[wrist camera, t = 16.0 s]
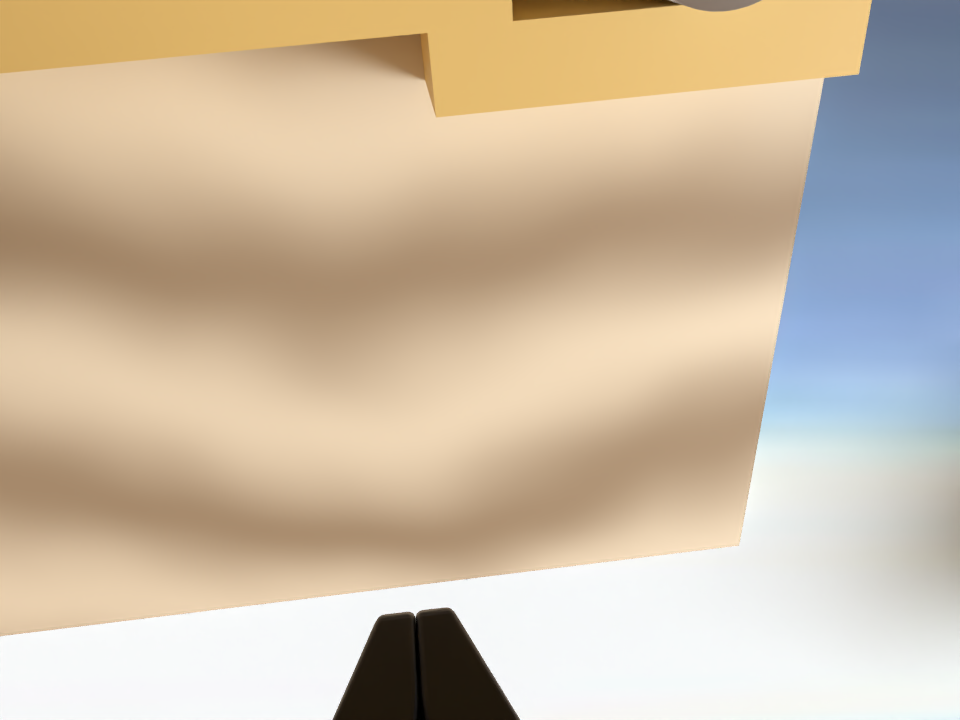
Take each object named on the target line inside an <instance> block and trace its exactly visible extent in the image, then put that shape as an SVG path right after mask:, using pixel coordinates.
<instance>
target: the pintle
mask: <svg viewBox="0 0 960 720" xmlns="http://www.w3.org/2000/svg"><path fill="white" fill-rule="evenodd" d="M669 1H672V2H675V3H678V4H681V5H684V6H687V7H691V8H694V9H697V10H703V11H711V12H723V11H730V10H737V9H740V8H744V7H747V6H750V5H753V4H755V3H757V2H760V1H762V0H669Z"/></svg>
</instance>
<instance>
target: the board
mask: <svg viewBox="0 0 960 720" xmlns="http://www.w3.org/2000/svg"><path fill="white" fill-rule="evenodd" d="M823 80H824V78H817V79H807V80H797V81H788V82H778V83H768V84H758V85H749V86H739V87H729V88H719V89H710V90H700V91H690V92H680V93H671V94H661V95H651V96H641V97H632V98H622V99H612V100H602V101H593V102H583V103H573V104H563V105H554V106H544V107H534V108H524V109H515V110H505V111H495V112H485V113H476V114H466V115H456V116H446V117H437V118H436V116H435V112H434V109H433V106H432V102H431V99H430V96H429V92H428V89H427V85H426V82H425V76H424V66H423V57H422V47H421V37H420V34H411V35H400V36H390V37H379V38H369V39H358V40H348V41H337V42H327V43H316V44H306V45H295V46H285V47H274V48H264V49H253V50H243V51H232V52H222V53H211V54H201V55H190V56H180V57H169V58H159V59H148V60H138V61H127V62H117V63H106V64H96V65H85V66H75V67H64V68H53V69H43V70H32V71H22V72H11V73H1V74H0V636H5V635H13V634H22V633H30V632H38V631H46V630H54V629H62V628H70V627H79V626H87V625H95V624H103V623H111V622H119V621H127V620H136V619H144V618H152V617H160V616H168V615H176V614H185V613H193V612H201V611H209V610H217V609H225V608H233V607H242V606H250V605H258V604H266V603H274V602H282V601H291V600H299V599H307V598H315V597H323V596H331V595H339V594H348V593H356V592H364V591H372V590H380V589H388V588H396V587H405V586H413V585H421V584H429V583H437V582H445V581H454V580H462V579H470V578H478V577H486V576H494V575H502V574H511V573H519V572H527V571H535V570H543V569H551V568H560V567H568V566H576V565H584V564H592V563H600V562H608V561H617V560H625V559H633V558H641V557H649V556H657V555H666V554H674V553H682V552H690V551H698V550H706V549H714V548H723V547H731V546H739V543H740V537H741V532H742V526H743V521H744V515H745V510H746V504H747V499H748V493H749V488H750V482H751V477H752V471H753V466H754V460H755V455H756V449H757V444H758V438H759V433H760V427H761V422H762V416H763V411H764V405H765V400H766V394H767V389H768V383H769V378H770V372H771V367H772V361H773V356H774V350H775V345H776V339H777V334H778V328H779V323H780V317H781V312H782V306H783V301H784V295H785V290H786V284H787V278H788V273H789V267H790V262H791V256H792V251H793V245H794V240H795V234H796V229H797V223H798V218H799V212H800V207H801V201H802V196H803V190H804V185H805V179H806V174H807V168H808V163H809V157H810V152H811V146H812V141H813V135H814V130H815V124H816V119H817V113H818V108H819V102H820V97H821V91H822V86H823Z"/></svg>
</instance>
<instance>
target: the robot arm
mask: <svg viewBox="0 0 960 720" xmlns="http://www.w3.org/2000/svg"><path fill="white" fill-rule="evenodd" d="M333 720H520V719H519V717H518V715H517V714H516V712H515V710H514V709H513V707H512V706H511V704H510V702H509V701H508V699H507V697H506V696H505V694H504V692H503V691H502V689H501V687H500V686H499V684H498V683H497V681H496V679H495V678H494V676H493V674H492V673H491V671H490V669H489V668H488V666H487V665H486V663H485V661H484V660H483V658H482V656H481V655H480V653H479V651H478V650H477V648H476V647H475V645H474V643H473V642H472V640H471V638H470V637H469V635H468V633H467V632H466V630H465V628H464V627H463V625H462V624H461V622H460V620H459V619H458V617H457V615H456V614H455V612H454V611H453V610H452V609H450V608H438V609H429V610H422V611H419V612H418V613H417V615H416V618H415V616H414V614H413V613H411V612H403V613H394V614H385V615H382V616H380V617H379V618H378V619H377V621H376V622H375V624H374V627H373V629H372V631H371V633H370V636H369V638H368V640H367V643H366V645H365V647H364V649H363V652H362V654H361V656H360V658H359V661H358V663H357V665H356V668H355V670H354V672H353V674H352V677H351V679H350V681H349V683H348V686H347V688H346V690H345V693H344V695H343V697H342V699H341V702H340V704H339V706H338V709H337V711H336V713H335V715H334V718H333Z"/></svg>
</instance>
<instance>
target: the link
mask: <svg viewBox="0 0 960 720" xmlns="http://www.w3.org/2000/svg"><path fill="white" fill-rule="evenodd" d="M871 2H872V0H762V1H760V2H757V3H755V4H753V5H750V6H747V7H744V8H740V9H737V10H730V11H723V12H711V11H703V10H697V9H694V8H691V7H687V6H684V5H681V4H678V3H675V2H672V1H669V0H0V74H1V73H11V72H22V71H32V70H43V69H53V68H64V67H75V66H85V65H96V64H106V63H117V62H127V61H138V60H148V59H159V58H169V57H180V56H190V55H201V54H211V53H222V52H232V51H243V50H253V49H264V48H274V47H285V46H295V45H306V44H316V43H327V42H337V41H348V40H358V39H369V38H379V37H390V36H400V35H411V34H420V37H421V47H422V57H423V66H424V76H425V82H426V85H427V89H428V92H429V96H430V99H431V102H432V106H433V109H434V112H435V116H436V118H437V117H446V116H456V115H466V114H476V113H485V112H495V111H505V110H515V109H524V108H534V107H544V106H554V105H563V104H573V103H583V102H593V101H602V100H612V99H622V98H632V97H641V96H651V95H661V94H671V93H680V92H690V91H700V90H710V89H719V88H729V87H739V86H749V85H758V84H768V83H778V82H788V81H797V80H807V79H817V78H827V77H836V76H846V75H856V74H859V69H860V64H861V58H862V52H863V47H864V41H865V36H866V30H867V24H868V19H869V13H870V8H871Z"/></svg>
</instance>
